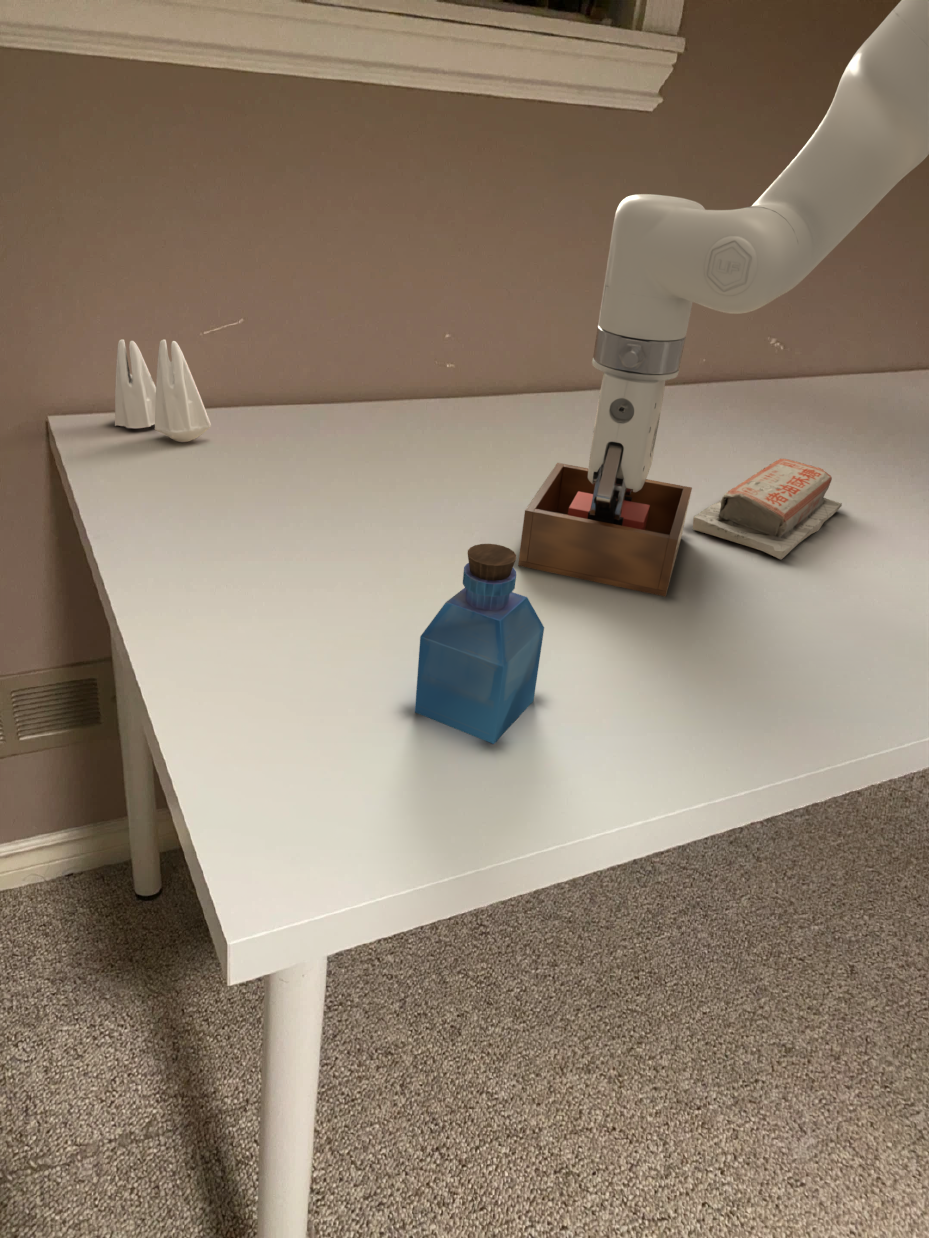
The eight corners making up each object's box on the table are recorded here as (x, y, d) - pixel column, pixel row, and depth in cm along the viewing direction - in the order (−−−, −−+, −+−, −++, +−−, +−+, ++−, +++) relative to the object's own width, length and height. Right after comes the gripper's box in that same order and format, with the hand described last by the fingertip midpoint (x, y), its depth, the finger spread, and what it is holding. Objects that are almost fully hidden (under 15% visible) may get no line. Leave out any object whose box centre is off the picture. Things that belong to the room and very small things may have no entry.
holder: (680, 539, 95) (692, 487, 93) (665, 597, 84) (677, 540, 81) (549, 513, 98) (557, 462, 96) (517, 566, 87) (524, 510, 84)
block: (642, 543, 92) (650, 505, 90) (636, 561, 88) (643, 522, 86) (572, 528, 93) (578, 491, 91) (562, 546, 90) (568, 507, 88)
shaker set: (214, 441, 108) (210, 344, 103) (187, 451, 105) (181, 350, 100) (139, 417, 113) (131, 323, 108) (112, 425, 110) (102, 328, 105)
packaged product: (765, 447, 108) (852, 472, 103) (755, 487, 110) (839, 513, 105) (698, 487, 95) (794, 517, 90) (688, 531, 97) (781, 563, 92)
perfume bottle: (493, 744, 63) (513, 586, 57) (414, 713, 65) (425, 557, 60) (533, 701, 68) (555, 551, 62) (458, 673, 70) (472, 526, 64)
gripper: (670, 383, 74) (629, 589, 83) (690, 339, 88) (653, 519, 97) (576, 367, 75) (546, 571, 84) (610, 326, 90) (582, 505, 99)
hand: (604, 541), depth 91 cm, fingers closed on block, 4 cm apart
